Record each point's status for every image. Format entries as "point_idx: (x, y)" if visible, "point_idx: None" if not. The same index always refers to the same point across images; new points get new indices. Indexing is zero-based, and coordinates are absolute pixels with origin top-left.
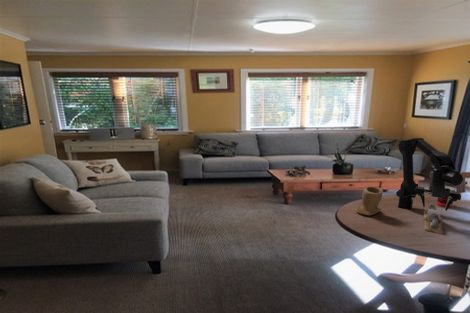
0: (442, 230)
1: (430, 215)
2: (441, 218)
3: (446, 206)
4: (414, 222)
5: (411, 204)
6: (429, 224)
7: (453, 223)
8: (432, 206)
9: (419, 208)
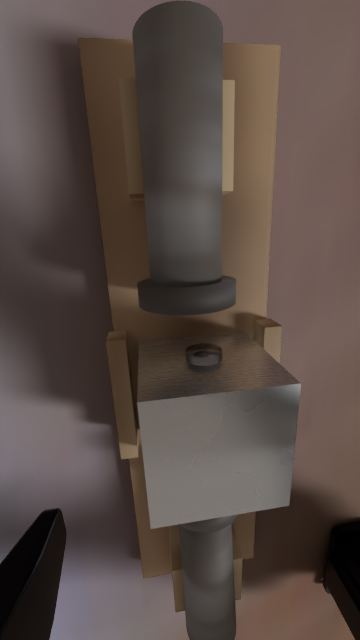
0: (90, 109)
1: (244, 362)
2: (121, 436)
3: (9, 638)
4: (338, 263)
5: (353, 586)
6: (224, 238)
7: (27, 452)
8: (218, 619)
9: (269, 583)
